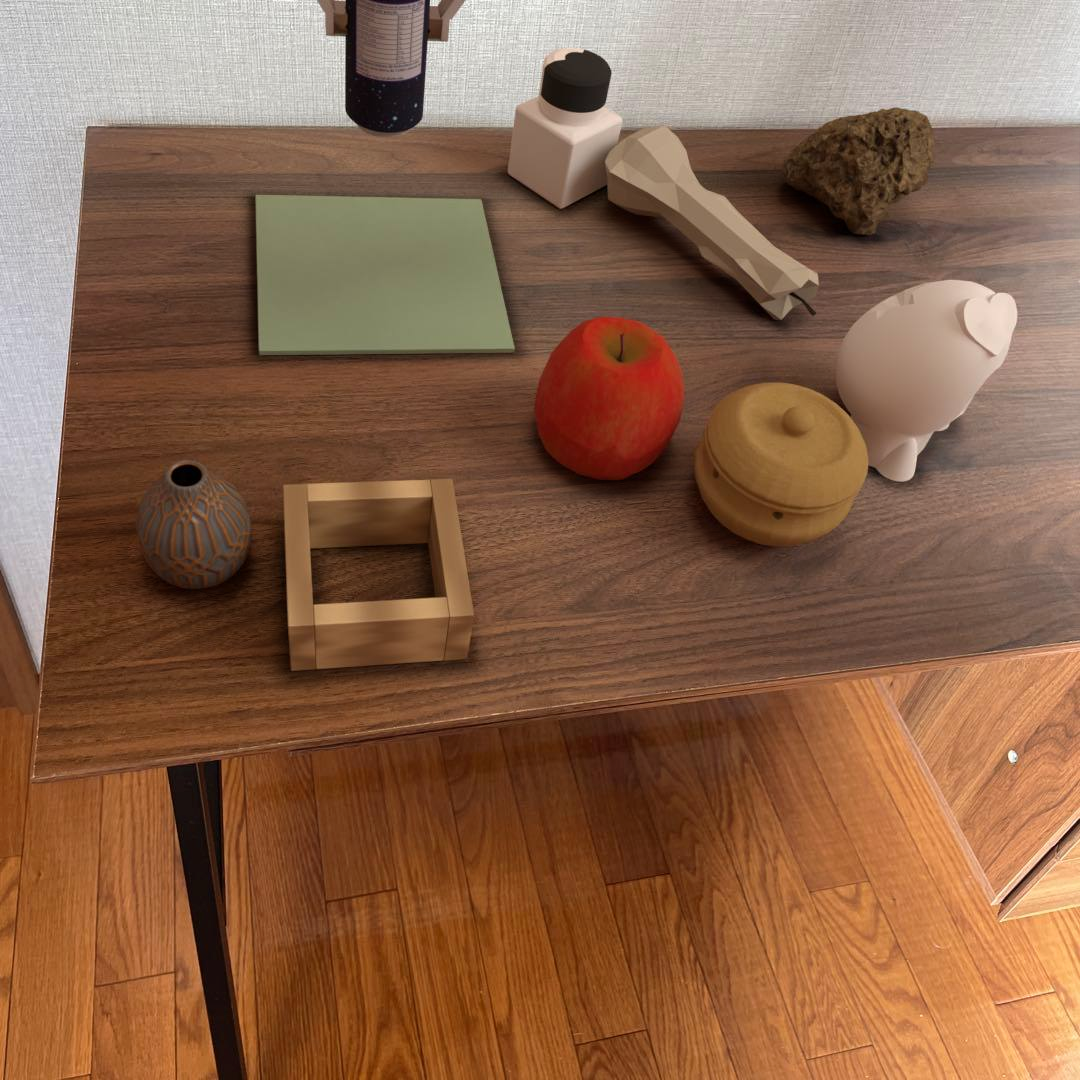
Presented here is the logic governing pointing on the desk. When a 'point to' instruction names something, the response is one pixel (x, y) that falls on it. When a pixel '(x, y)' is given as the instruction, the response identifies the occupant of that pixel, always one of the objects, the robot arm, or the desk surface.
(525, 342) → the desk surface
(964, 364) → the figurine
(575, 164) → the medicine bottle
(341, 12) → the robot arm
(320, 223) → the mat
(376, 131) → the beverage can
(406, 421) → the desk surface
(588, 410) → the apple
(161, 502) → the vase
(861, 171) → the brown porous lump
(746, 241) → the faceted club
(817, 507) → the pot
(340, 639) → the holder
